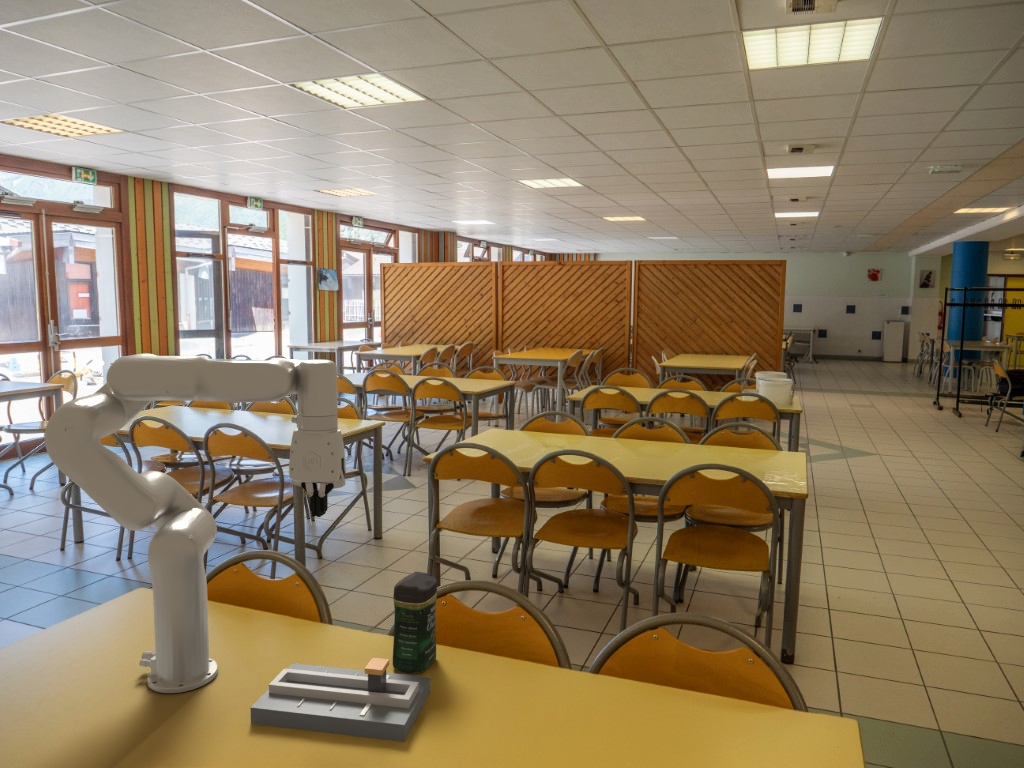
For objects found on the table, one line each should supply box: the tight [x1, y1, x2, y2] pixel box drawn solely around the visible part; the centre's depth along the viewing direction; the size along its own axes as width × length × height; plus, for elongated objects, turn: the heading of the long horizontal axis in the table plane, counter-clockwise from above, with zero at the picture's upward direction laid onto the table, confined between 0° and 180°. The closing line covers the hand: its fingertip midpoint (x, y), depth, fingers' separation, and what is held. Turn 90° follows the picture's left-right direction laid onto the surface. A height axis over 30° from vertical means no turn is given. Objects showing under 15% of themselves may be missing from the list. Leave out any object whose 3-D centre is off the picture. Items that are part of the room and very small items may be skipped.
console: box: [250, 662, 431, 743], centre depth 131 cm, size 28×16×5 cm, turn 81°
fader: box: [364, 657, 390, 693], centre depth 129 cm, size 3×4×6 cm
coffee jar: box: [392, 571, 438, 675], centre depth 146 cm, size 10×8×19 cm
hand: (318, 514), depth 141 cm, fingers closed
